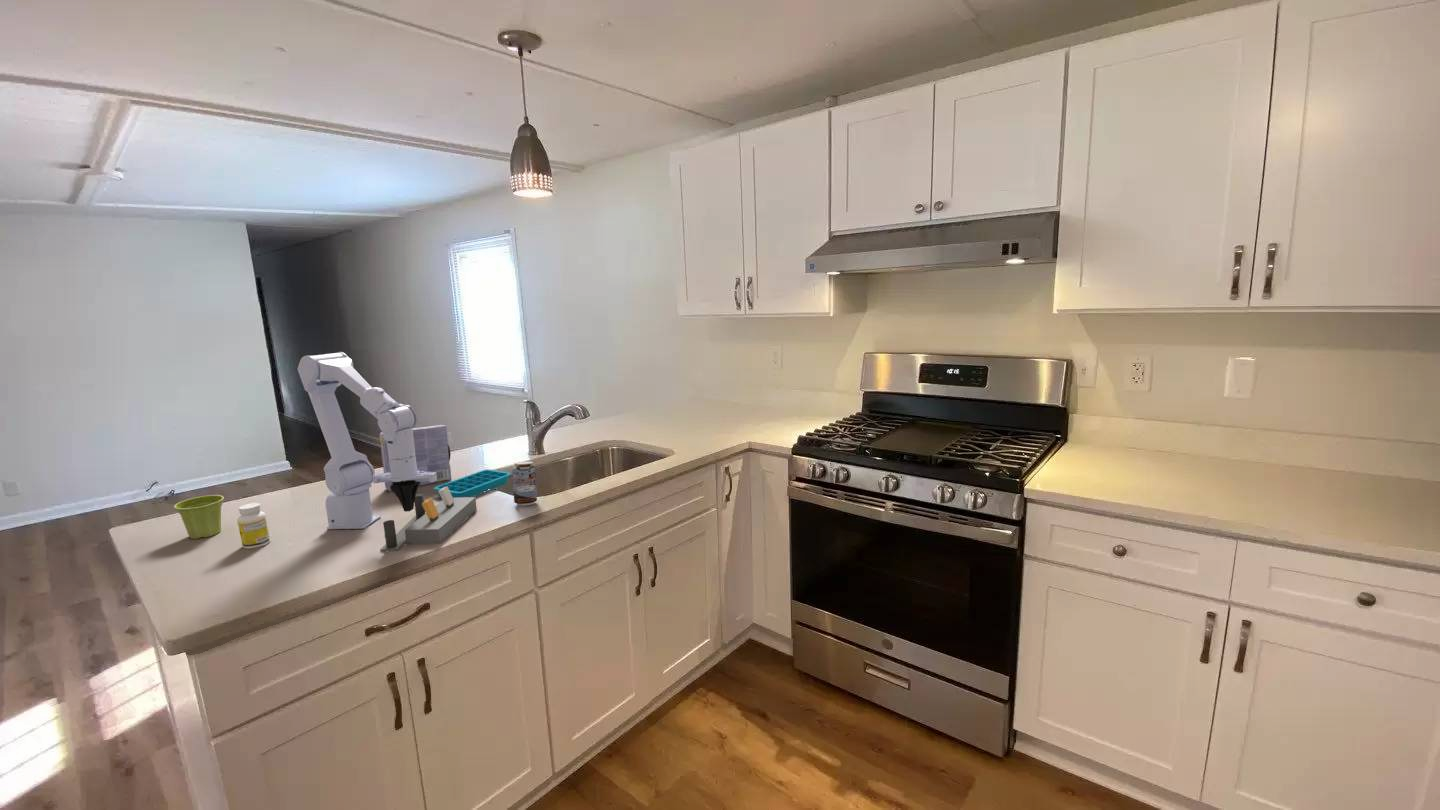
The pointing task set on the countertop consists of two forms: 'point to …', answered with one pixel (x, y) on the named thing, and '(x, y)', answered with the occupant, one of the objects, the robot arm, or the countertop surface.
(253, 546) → the supplement bottle
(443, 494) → the paddle
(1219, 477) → the countertop surface
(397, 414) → the robot arm
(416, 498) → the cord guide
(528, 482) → the beverage can
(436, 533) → the box
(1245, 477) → the countertop surface
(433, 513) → the block
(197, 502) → the plant pot
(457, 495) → the ice cube tray
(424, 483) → the cake pan box
